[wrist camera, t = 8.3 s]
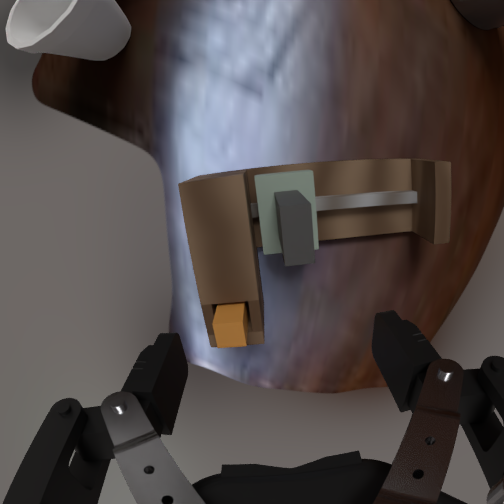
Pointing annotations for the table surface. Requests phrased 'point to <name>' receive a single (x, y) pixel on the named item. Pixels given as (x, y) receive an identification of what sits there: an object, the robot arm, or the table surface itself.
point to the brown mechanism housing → (328, 220)
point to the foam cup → (69, 28)
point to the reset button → (231, 324)
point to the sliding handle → (288, 215)
